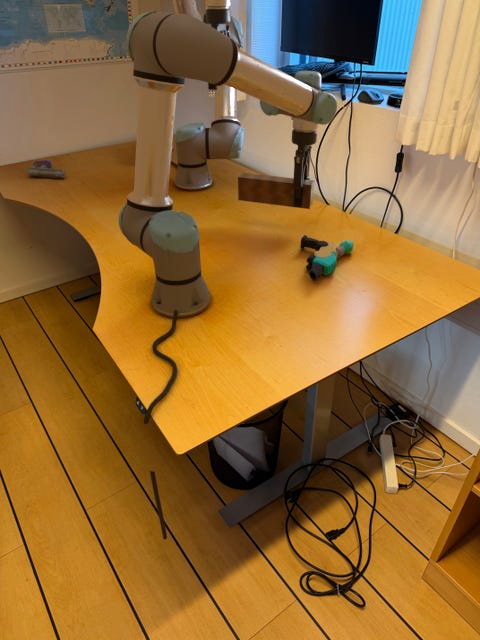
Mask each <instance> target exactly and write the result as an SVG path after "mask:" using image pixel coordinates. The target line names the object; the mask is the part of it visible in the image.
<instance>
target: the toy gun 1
mask: <svg viewBox="0 0 480 640" xmlns="http://www.w3.org/2000/svg"><path fill="white" fill-rule="evenodd" d="M52 167H53V162H52V160H51V159H38V160H36V161H34V162H33V163H32V166H29V167H28V169H27V170H26V174H27V175H28V176H30V177H37V178H52V179H53V178H54V179H55V178H56V179H65V175H66V174H67V171H66V170H63V169H62V168H61V169H60V168H52Z"/></svg>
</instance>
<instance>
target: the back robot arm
mask: <svg viewBox="0 0 480 640" xmlns="http://www.w3.org/2000/svg"><path fill="white" fill-rule="evenodd" d="M204 2H205V7H206V9H205V13H200V12H199V11H198V8H197V2H196V0H172V4H173V7H174V11H175V13H176V14H187V15H190V16H192V17H195V18H197V19H199V20H200V21H202V22H204V23H206V24H207V25H209V26H211V27H213V28H214V29H216V30H218V31H219V32H221V33H223V34H224V35H226V36H228V37H230V38H231V39H233V40H234V41H235V42H236V43H237V46H238V48H239V49H240V47H241V48H242V49H244V46H245V43H244V42H245V41H244V35H243V31H244V30H243V25H242V21H241V22H240V21H237V20H236V19H235V18H233V16H231V14H232V12H231V11H232V10H231V8H230V7H231V5H232V1H231V0H204ZM240 50H241V49H240ZM207 89H208V90H209V91H214V119H213V120H212V121H211V122H210V127H206V125H205V123H202V122H191V123H187V124H184V125H181V126H179V127H178V128H177V129H176V130H175V140H174V141H175V147H176V156H177V157H176V158H177V163H175V162H174V161H172V160H171V164H172V165H173V166H175V167H177V170H176V174H175V179H174V185H175V187H176V189H179V190H181V191H186V192H197V191H204V190H206V189H209V188H210V187H212V186H213V179H212V175H211V170H210V169H209V167H208V162H207V161H208V160H229V161H230V160H236V159H240V158H241V157H242V154H243V147H244V139H245V138H244V137H245V128H244V127H243V126H241V124H242V123H241V121H240V120H238V115H237V114H238V112H237V107H238V105H237V103H238V102H237V89H234V88H232V87H230V86H228V85H225V84H224V85H222V86H215V85H213V84H211V83H208V82H207Z"/></svg>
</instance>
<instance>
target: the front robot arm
mask: <svg viewBox="0 0 480 640" xmlns="http://www.w3.org/2000/svg"><path fill="white" fill-rule="evenodd" d="M125 46H126V51H127V54H128V56H129V58H130V59H131V61H132V62H133V72H132V77H133V79H134V81H135V82H136V83H137V86H138V87H139V89H138V108H137V123H136V124H137V125H136V126H137V127H136V142H135V143H136V144H135V161H134V162H135V163H134V180H133V190H132V191H131V192H130V193H129V194H127V195H126V203H125V204H124V206H123V207H121V209H120V210H119V214H118V226H119V229H120V232H121V234H122V235H123V236H124V237H125V238H126V240H127V241H128V242H129V243H130V244H132V245H133V246H135V247H137V248H138V249H139V250H141V251H142V252H143V253H145V254H146V255H147V256H149V257H150V258H151V259H152V260H153V261H152V262H153V268H154V274H155V275H154V276H155V281H154V284H153V290H152V294H151V305H152V308H153V310H154V311H155V312H156V313H157V314H159V315H160V316H163V317H167V318H171V320H172V321H171V328H170V329H169V330H168V331H167V332H165V334H163V335H161V336H159V337H158V338H157V339H155V340H154V342H153V343H152V346H151V347H152V351H153V353H154V354H155V355H156V356H157V357H159V358H160V359H162V360H164V361H165V362H168V363H169V364H170V366H171V368H172V374H171V376H170V378H169V380H168V382H167V384H166V386H165V387H164V388H163V390H162V391H161V393H160V394H159V395H158V396H156V397H155V398H154V399H153V400H152V401H151V403H149V406H148V408H147V409H146V412H145V415H144V418H143V424H144V425H148V424H149V422H150V418H151V414H152V412H153V410H154V409H155V407H156V406H157V405H158V404H159V402H161V401H162V400H163V399H164V397H166V395H167V394H168V392H170V390H171V388H172V386H173V384H174V382H175V381H176V378H177V376H178V366H177V363H176V362H175V360H174V359H173V358H171V357H170V356H168V355H166V354H164V353H162V352H161V351H160V350H158V348H157V347H158V345H159V344H160V343H161V342H162V341H164V340H166V339H167V338H169V337H170V336H171V335H173V333H174V332H175V330H176V327H177V319H183V318H185V319H186V318H190V317H194V316H196V315H199V314H201V313H202V312H204V311H205V310H207V308H208V307H209V306H210V303H211V294H210V290H209V288H208V286H207V284H206V281H205V278H204V277H203V275H202V262H201V261H202V259H201V247H200V246H201V243H200V240H201V236H200V230H199V226H198V223H197V220H196V218H194V217H193V216H192V215H190V214H189V213H187V212H184V211H177V210H174V209H173V206H174V200H173V199H172V198H171V197H170V194H169V185H170V175H171V173H170V172H171V164H172V163H171V161H172V154H173V153H172V151H173V149H172V146H173V141H174V139H173V138H174V129H175V118H176V117H175V116H176V107H177V96H178V92H179V91H180V90H182V89H183V88H184V87H185V82H186V79H190V80H196V81H201V82H205V83H207V84H208V83H211V84H213V85H215V86H222V85H224V84H225V85H228V86H230V87H232V88H234V89H236V91H239V92H241V93H244V94H246V95H248V96H250V97H253V98H256V99H257V100H259V106H260V109H261V111H262V112H263V114H264V115H266V116H268V117H271V116H275V117H276V116H278V115H284V116H287V117H290V119H291V121H292V128H293V129H292V130H291V143H292V144H293V145H296V146H297V149H295V155H294V157H293V163H294V164H293V178H294V179H293V185H292V187H294V188H295V189H294V207H293V208H296V207H302V201H303V179H304V180H311V178H310V165H311V156H312V149H313V145H315V144H317V141H318V140H317V139H318V131H317V129H318V128H319V125H322V126H325V125H328V124H330V123H331V122H332V121H333V119H334V118H335V116H336V114H337V111H338V101H337V98H336V97H335V95H333V94H332V93H329V92H327V91H322V75H321V73H320V72H319V71H315V70H299V71H297V72H296V73H295V75H294V77H293V76H292V75H290V74H287V73H286V72H284V71H282V70H280V69H278V68H276V67H274V66H272V65H271V64H268V63H267V62H265V61H263V60H262V59H259V58H258V57H256V56H254V55H252V54H250V53H248V52H246V51H244V50H242V49H239V48H238V46H237V43H236V42H235V41H234V40H233V39H231V38H230V37H228V36H226V35H224V34H223V33H221V32H219V31H218V30H216V29H214V28H213V27H211V26H209V25H207V24H206V23H204V22H202V21H200V20H199V19H197V18H195V17H192V16H190V15H187V14H176V12H166V11H161V10H152V11H147V12H143V13H141V14H139V15H138V16H136V17H135V19H133V20H132V21H131V23H130V25H129V26H128V30H127V33H126V38H125ZM149 475H150V480H151V486H152V492H153V496H154V500H155V506H156V511H157V514H158V520H159V524H160V529H161V533H162V539H163V540H167V539H168V535H167V533H168V532H167V528H166V523H165V517H164V513H163V509H162V503H161V499H160V493H159V488H158V481H157V478H156V471H153V470H150V471H149Z"/></svg>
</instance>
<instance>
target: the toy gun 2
mask: <svg viewBox="0 0 480 640" xmlns="http://www.w3.org/2000/svg"><path fill="white" fill-rule="evenodd" d="M354 246H355V244H354V242H353V241H352V240H343V241H342V242H340V244H339V245H337V243H335V242H332V241H325V240H319V239H316V238H312V237H308V235H306V234H304V235H303V236H301V238H300V244H299V248H300V249H301V250H305V249H306V248H307V249H312V250H314V252H313V253H311V254H309V256H308V257H307V258H306V262H307V264H306V266H305V269H306V270H307V272H308V276H309V278H310V279H311V280H312V281H313V282H316V281H317V280H318V279H319V278H321V277H322V274H323V275H325V276H329V275H330V274H333V272H335V270H336V268H337V266H338V264H337V259H338V258H340V257H341V256H342V257H343V255H347V254H350V253H351V252H352V251H353V249H354Z"/></svg>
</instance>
